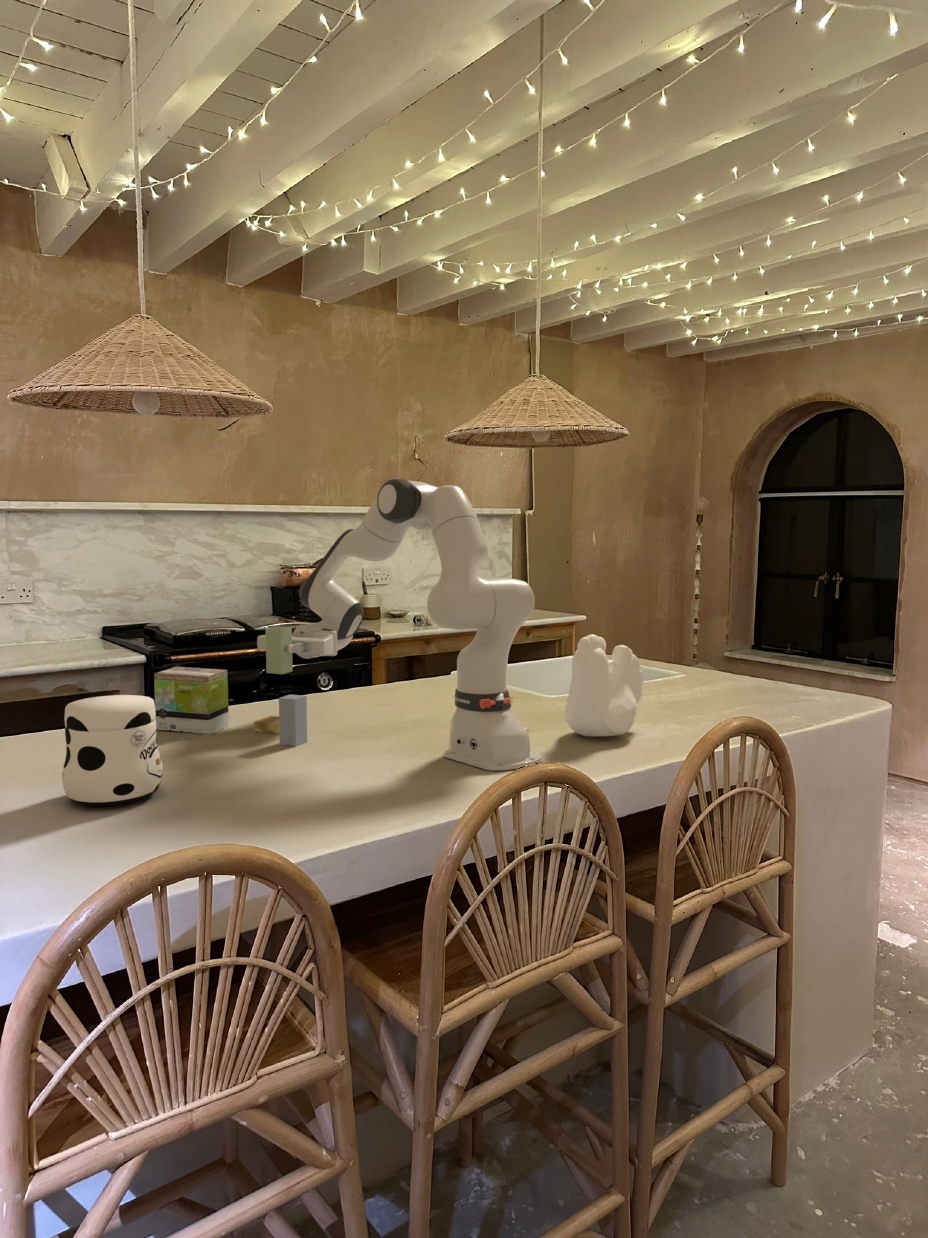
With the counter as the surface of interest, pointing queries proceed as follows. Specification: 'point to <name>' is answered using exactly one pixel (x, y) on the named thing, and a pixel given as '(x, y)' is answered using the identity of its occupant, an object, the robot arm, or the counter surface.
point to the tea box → (191, 699)
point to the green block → (278, 650)
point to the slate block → (293, 720)
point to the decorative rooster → (603, 689)
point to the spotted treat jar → (111, 750)
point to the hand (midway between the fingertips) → (276, 648)
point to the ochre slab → (267, 725)
